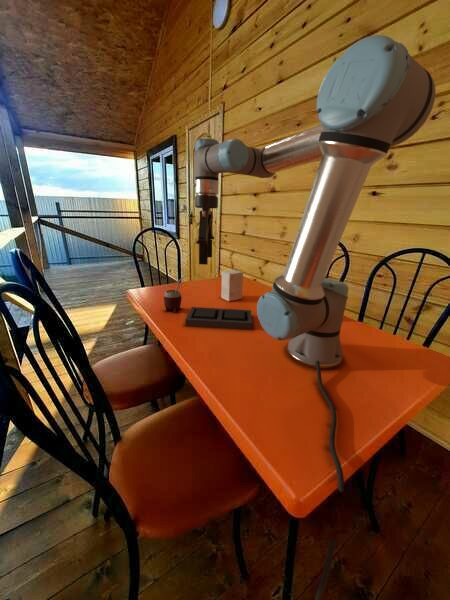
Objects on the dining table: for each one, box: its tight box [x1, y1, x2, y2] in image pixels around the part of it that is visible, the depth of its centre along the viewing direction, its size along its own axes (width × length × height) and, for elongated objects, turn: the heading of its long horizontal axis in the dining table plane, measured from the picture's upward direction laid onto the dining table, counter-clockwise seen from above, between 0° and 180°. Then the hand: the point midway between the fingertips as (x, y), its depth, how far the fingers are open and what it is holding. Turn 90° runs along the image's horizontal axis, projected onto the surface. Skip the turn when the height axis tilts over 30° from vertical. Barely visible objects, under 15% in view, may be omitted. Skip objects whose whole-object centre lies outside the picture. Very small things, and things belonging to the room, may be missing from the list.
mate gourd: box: [163, 275, 187, 314], centre depth 102 cm, size 8×8×15 cm
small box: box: [220, 269, 244, 302], centre depth 120 cm, size 8×6×13 cm
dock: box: [185, 306, 253, 331], centre depth 96 cm, size 13×24×2 cm, turn 87°
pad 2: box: [223, 310, 246, 321], centre depth 96 cm, size 8×8×3 cm
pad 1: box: [194, 308, 217, 320], centre depth 96 cm, size 8×8×3 cm
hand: (205, 260), depth 89 cm, fingers open, 13 cm apart
